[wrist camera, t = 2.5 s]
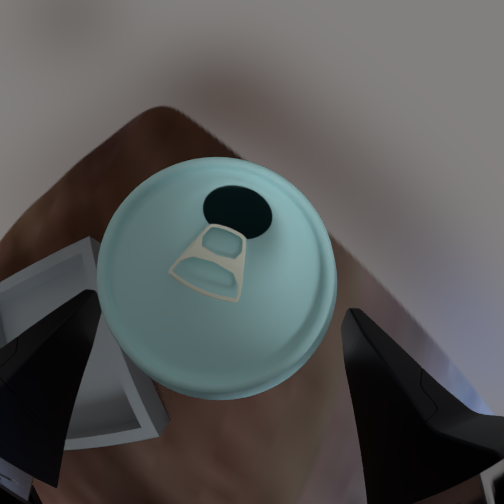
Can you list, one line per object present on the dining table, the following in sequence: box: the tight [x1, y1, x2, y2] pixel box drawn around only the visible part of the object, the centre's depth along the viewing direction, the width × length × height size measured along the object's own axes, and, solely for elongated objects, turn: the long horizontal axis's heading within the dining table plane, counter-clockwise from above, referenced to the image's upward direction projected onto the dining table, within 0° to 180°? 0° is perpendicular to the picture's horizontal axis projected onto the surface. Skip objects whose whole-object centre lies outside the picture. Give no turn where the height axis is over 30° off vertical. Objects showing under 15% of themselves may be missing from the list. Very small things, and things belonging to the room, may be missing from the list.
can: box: [97, 157, 337, 400], centre depth 12 cm, size 7×7×12 cm
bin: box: [0, 236, 170, 450], centre depth 15 cm, size 13×13×3 cm
